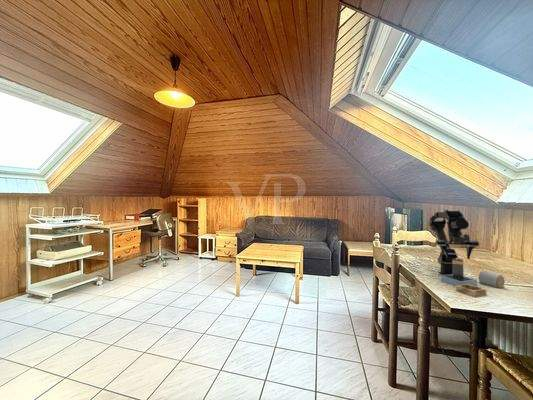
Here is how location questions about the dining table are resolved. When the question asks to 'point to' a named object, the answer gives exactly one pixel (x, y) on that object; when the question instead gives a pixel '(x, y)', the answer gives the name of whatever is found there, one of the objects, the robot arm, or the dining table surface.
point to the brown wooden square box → (471, 290)
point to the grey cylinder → (491, 279)
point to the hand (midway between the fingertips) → (458, 258)
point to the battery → (458, 269)
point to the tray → (454, 282)
